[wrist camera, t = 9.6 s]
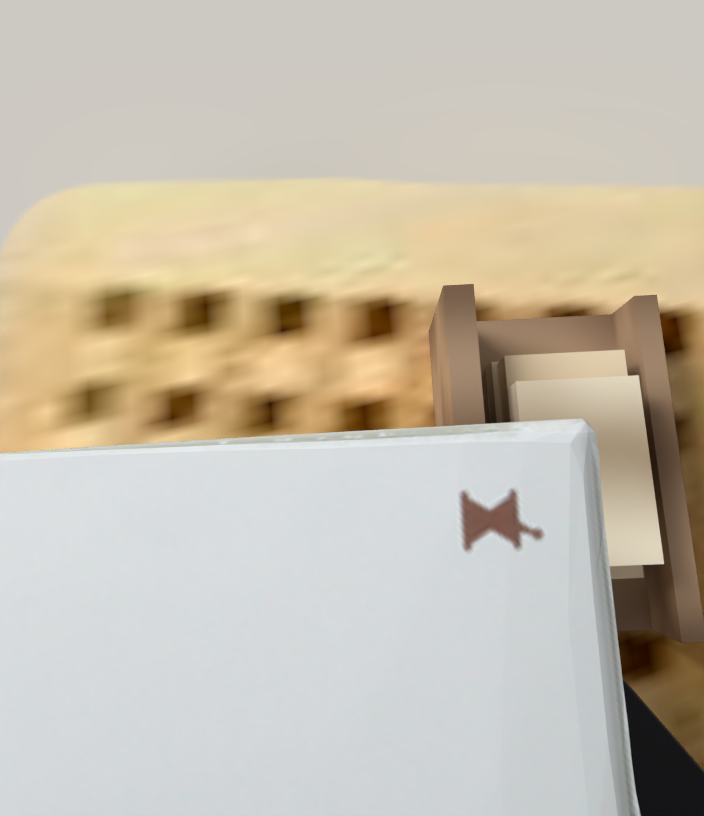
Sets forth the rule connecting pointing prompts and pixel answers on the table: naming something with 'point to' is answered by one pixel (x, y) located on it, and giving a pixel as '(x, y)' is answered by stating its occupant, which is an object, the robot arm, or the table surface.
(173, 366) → the table surface
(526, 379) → the offcut stack
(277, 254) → the table surface
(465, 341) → the tray
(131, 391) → the table surface
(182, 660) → the supplement box
